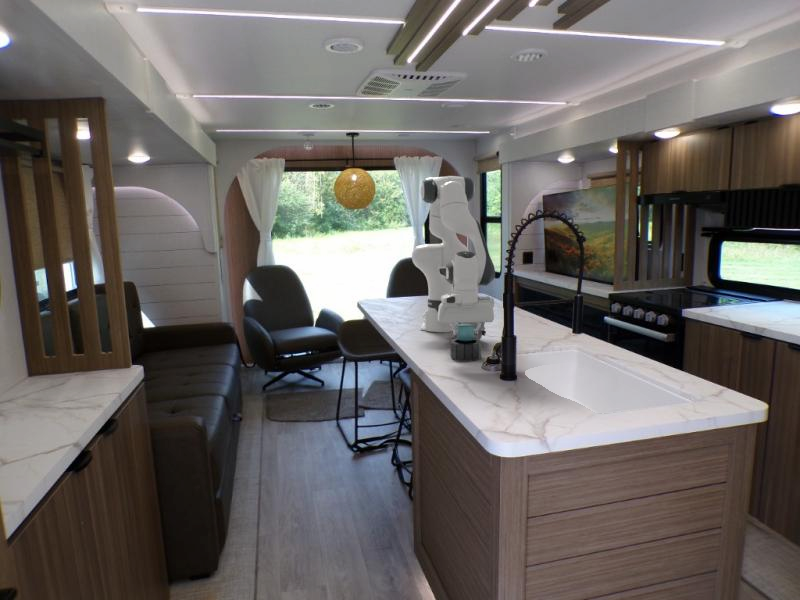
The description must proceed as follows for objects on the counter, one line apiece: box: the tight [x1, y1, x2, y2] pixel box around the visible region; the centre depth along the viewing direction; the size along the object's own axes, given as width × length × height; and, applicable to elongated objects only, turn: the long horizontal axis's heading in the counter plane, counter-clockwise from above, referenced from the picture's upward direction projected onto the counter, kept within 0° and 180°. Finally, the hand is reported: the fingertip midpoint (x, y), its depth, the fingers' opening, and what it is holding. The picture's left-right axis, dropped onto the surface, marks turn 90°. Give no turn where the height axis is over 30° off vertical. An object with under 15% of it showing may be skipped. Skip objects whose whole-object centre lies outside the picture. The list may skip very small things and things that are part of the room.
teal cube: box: [458, 324, 474, 341], centre depth 195 cm, size 6×6×5 cm
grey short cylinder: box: [449, 338, 482, 362], centre depth 197 cm, size 11×11×6 cm
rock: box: [453, 322, 487, 340], centre depth 220 cm, size 22×10×15 cm, turn 7°
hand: (465, 334), depth 196 cm, fingers closed on teal cube, 6 cm apart
